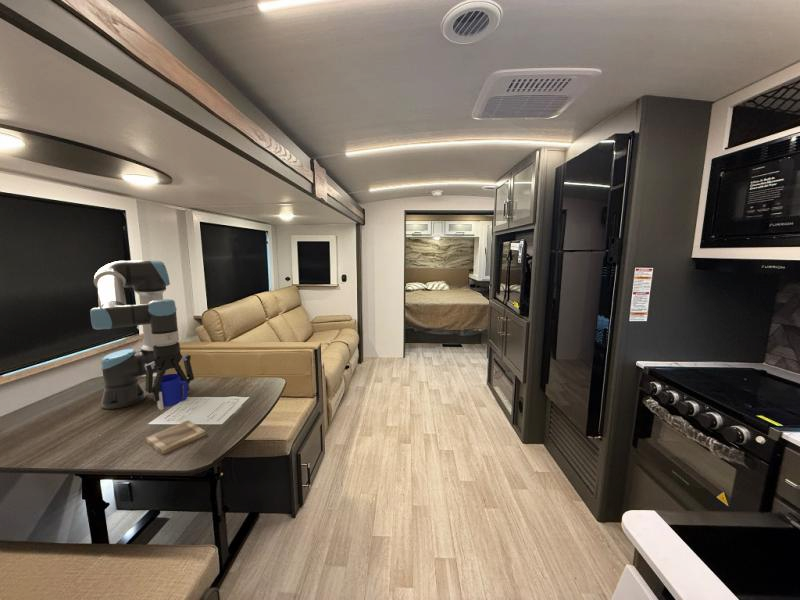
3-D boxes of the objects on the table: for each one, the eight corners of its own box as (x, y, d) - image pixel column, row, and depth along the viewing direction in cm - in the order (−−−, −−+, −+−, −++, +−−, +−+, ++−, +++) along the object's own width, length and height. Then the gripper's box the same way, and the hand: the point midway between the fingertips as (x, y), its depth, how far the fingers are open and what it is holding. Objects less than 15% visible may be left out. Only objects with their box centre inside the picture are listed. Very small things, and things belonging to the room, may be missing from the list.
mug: (178, 411, 108) (175, 384, 107) (150, 407, 111) (147, 381, 109) (198, 400, 116) (195, 375, 115) (172, 397, 119) (169, 372, 117)
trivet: (146, 441, 113) (145, 437, 113) (188, 423, 124) (188, 420, 124) (162, 454, 105) (162, 450, 105) (206, 434, 117) (205, 430, 117)
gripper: (135, 352, 99) (143, 419, 103) (201, 338, 116) (207, 396, 119) (126, 348, 103) (135, 413, 107) (192, 335, 120) (197, 391, 123)
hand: (173, 404), depth 113 cm, fingers closed on mug, 7 cm apart
